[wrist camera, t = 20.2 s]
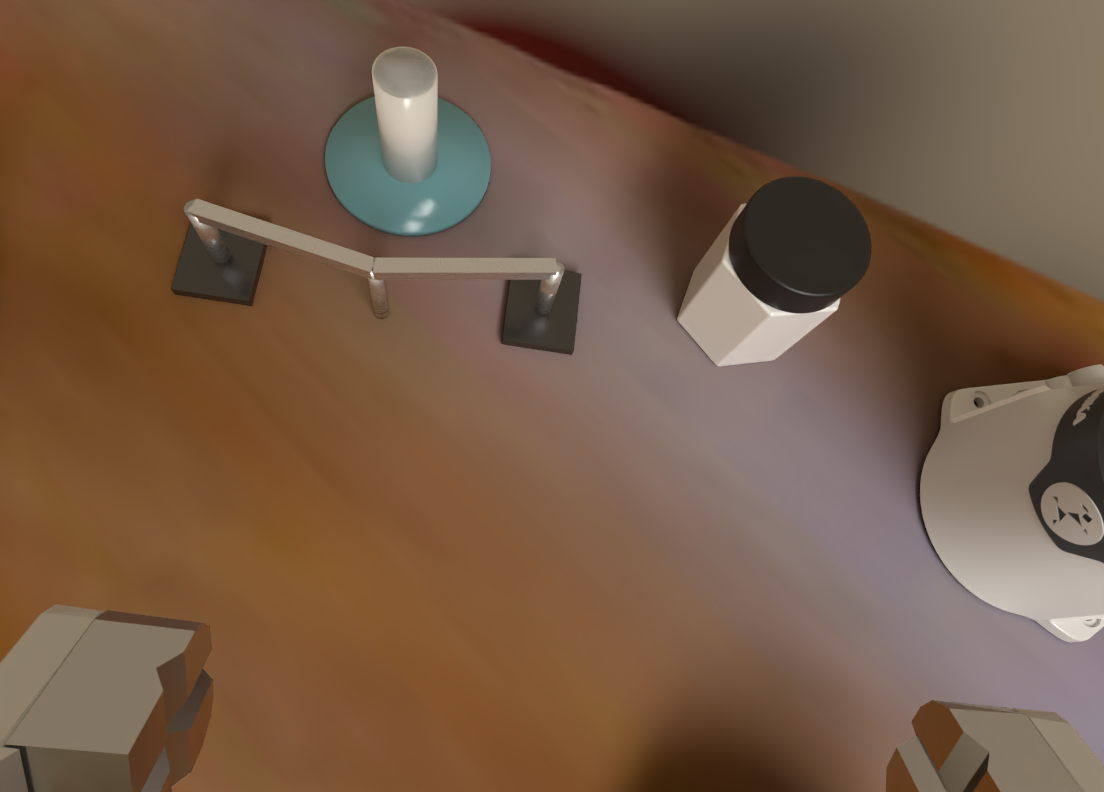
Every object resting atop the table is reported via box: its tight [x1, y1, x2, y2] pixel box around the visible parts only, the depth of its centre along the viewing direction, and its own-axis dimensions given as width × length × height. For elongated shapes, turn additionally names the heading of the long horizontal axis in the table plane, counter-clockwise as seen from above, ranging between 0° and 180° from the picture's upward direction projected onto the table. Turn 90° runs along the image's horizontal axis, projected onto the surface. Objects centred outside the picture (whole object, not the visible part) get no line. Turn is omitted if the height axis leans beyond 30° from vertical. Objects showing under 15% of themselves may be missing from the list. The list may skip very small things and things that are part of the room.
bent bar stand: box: [171, 198, 581, 355], centre depth 49 cm, size 27×6×7 cm, turn 84°
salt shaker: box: [372, 47, 438, 183], centre depth 50 cm, size 4×4×9 cm
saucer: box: [325, 96, 491, 237], centre depth 55 cm, size 12×12×1 cm
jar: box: [677, 177, 871, 366], centre depth 50 cm, size 9×8×12 cm
